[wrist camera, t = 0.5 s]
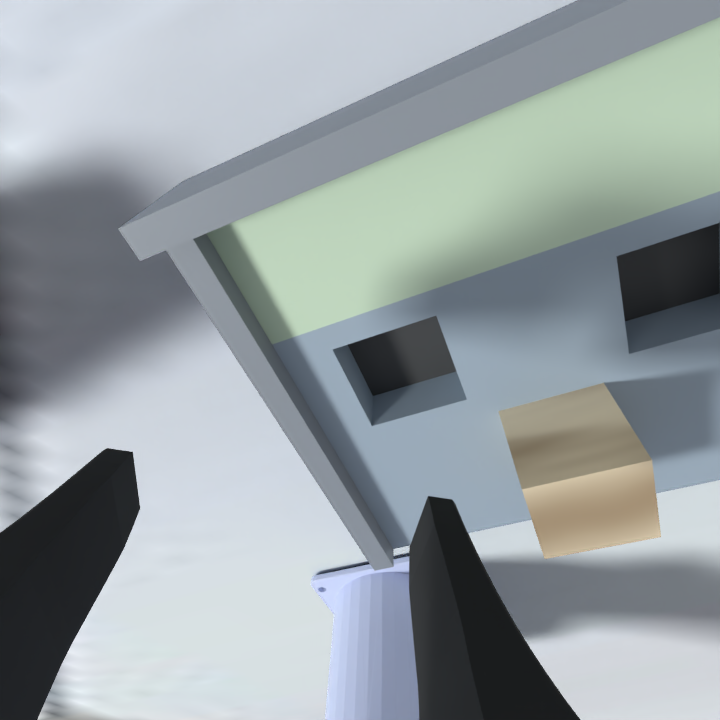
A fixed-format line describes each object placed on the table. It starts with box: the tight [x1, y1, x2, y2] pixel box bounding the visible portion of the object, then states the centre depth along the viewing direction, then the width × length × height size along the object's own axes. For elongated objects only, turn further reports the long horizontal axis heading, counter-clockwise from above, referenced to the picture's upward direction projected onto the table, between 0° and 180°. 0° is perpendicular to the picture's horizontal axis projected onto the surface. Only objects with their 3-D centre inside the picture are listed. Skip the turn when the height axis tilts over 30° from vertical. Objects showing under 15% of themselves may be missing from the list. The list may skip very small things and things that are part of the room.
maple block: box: [498, 383, 661, 559], centre depth 18 cm, size 4×4×4 cm
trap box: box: [118, 0, 720, 571], centre depth 18 cm, size 19×20×5 cm
